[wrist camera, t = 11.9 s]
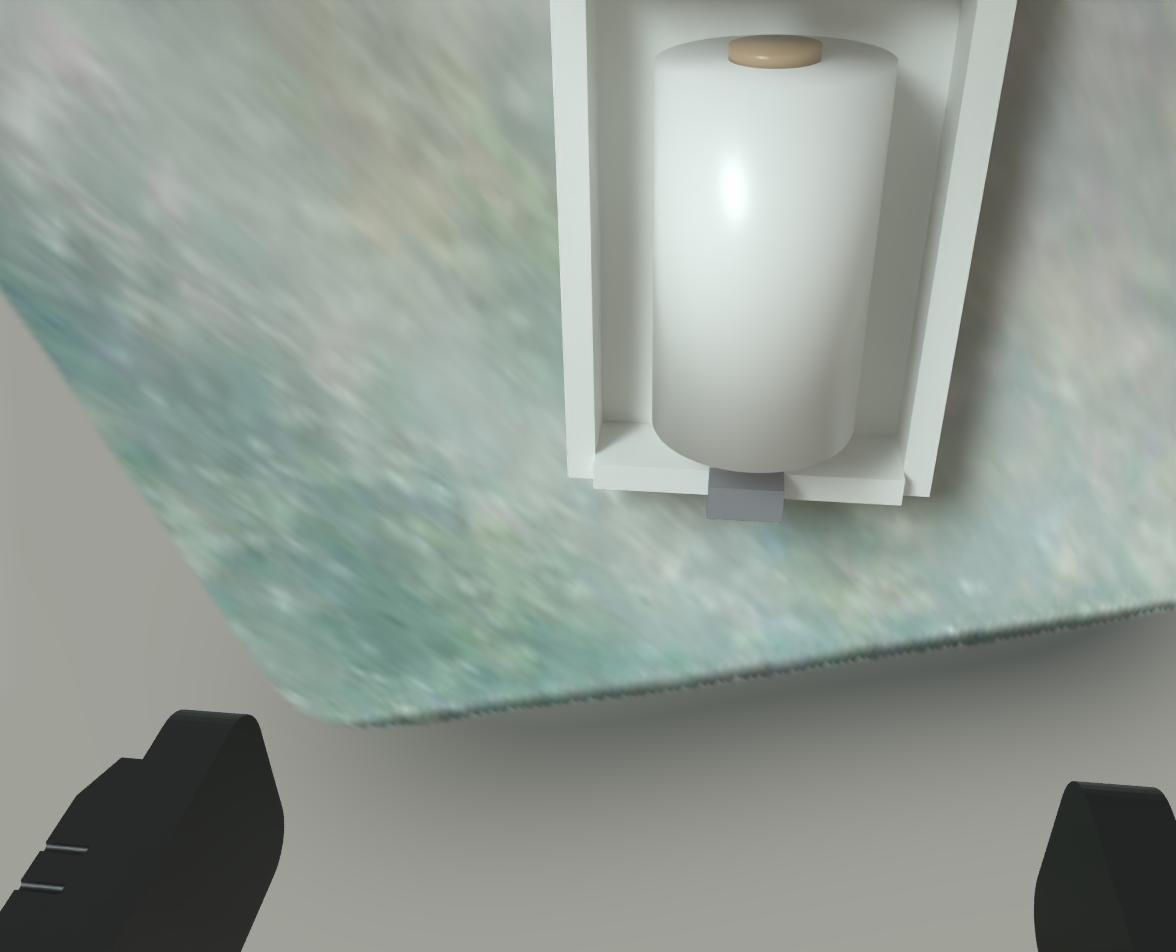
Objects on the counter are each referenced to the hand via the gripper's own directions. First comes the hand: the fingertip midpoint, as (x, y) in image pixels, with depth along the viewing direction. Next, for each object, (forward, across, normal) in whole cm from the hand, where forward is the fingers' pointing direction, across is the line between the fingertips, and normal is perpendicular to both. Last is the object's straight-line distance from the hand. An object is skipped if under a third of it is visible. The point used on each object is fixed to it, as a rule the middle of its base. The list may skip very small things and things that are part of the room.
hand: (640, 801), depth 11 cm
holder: (+21, -1, +1) cm, 21 cm away
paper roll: (+20, -1, +1) cm, 20 cm away
